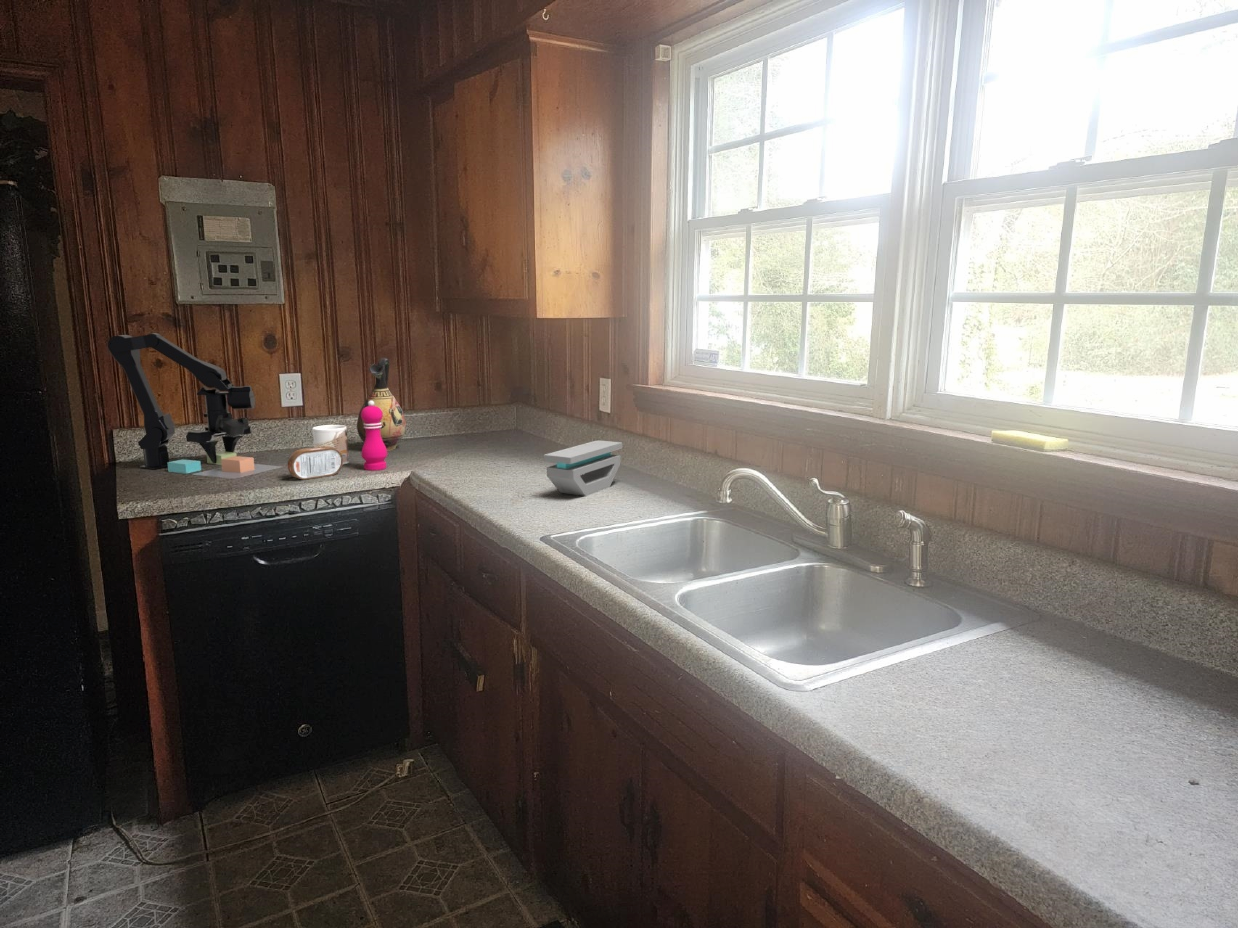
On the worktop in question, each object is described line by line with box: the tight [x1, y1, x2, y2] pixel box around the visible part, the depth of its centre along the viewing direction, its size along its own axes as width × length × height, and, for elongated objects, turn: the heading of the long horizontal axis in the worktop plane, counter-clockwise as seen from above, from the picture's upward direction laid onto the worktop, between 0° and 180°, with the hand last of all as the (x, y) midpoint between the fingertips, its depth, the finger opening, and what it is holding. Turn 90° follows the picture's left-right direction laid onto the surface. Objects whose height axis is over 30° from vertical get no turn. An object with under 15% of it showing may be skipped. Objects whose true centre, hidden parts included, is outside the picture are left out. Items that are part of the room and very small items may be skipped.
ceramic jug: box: [356, 357, 407, 452], centre depth 266 cm, size 17×15×30 cm
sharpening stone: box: [543, 439, 623, 497], centre depth 207 cm, size 25×8×11 cm, turn 150°
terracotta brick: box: [221, 455, 255, 473], centre depth 231 cm, size 7×5×4 cm
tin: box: [287, 446, 344, 481], centre depth 224 cm, size 15×3×8 cm, turn 134°
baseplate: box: [191, 463, 283, 480], centre depth 231 cm, size 16×18×1 cm
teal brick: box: [167, 459, 202, 474], centre depth 231 cm, size 7×5×4 cm
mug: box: [311, 424, 350, 465], centre depth 245 cm, size 10×12×11 cm
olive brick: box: [206, 450, 238, 466], centre depth 243 cm, size 7×5×4 cm
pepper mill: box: [361, 401, 388, 471], centre depth 234 cm, size 7×7×20 cm
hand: (222, 461), depth 243 cm, fingers closed on olive brick, 5 cm apart
